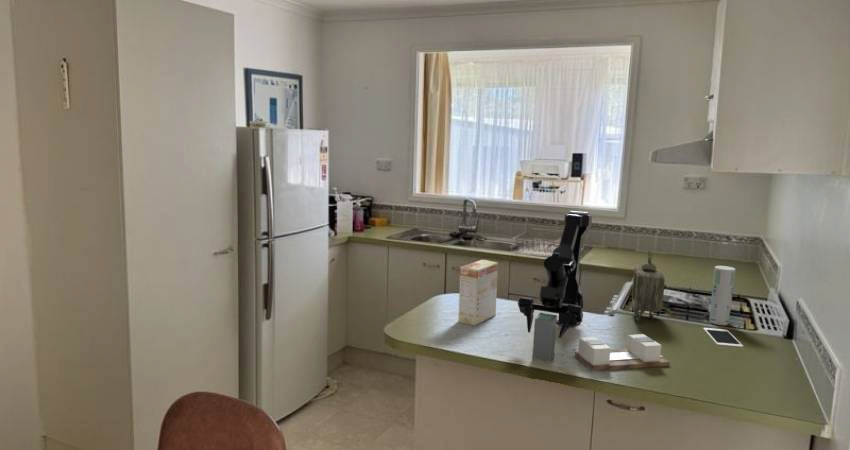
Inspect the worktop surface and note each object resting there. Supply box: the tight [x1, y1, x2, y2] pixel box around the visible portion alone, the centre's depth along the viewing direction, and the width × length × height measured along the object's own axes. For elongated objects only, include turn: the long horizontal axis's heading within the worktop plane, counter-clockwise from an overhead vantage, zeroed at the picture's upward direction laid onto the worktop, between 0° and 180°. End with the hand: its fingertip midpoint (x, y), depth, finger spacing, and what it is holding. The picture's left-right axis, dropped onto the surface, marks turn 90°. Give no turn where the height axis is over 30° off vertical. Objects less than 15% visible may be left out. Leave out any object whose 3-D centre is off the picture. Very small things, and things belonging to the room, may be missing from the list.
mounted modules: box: [577, 333, 662, 365], centre depth 170 cm, size 21×9×5 cm, turn 102°
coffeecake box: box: [457, 259, 499, 326], centre depth 203 cm, size 15×7×20 cm, turn 144°
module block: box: [532, 312, 558, 362], centre depth 172 cm, size 6×5×12 cm
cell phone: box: [703, 327, 744, 348], centre depth 193 cm, size 8×16×1 cm, turn 170°
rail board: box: [574, 348, 671, 372], centre depth 171 cm, size 24×11×2 cm, turn 102°
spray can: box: [708, 265, 736, 326], centre depth 207 cm, size 6×6×20 cm
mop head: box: [631, 249, 666, 322], centre depth 209 cm, size 14×9×25 cm, turn 164°
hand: (543, 334), depth 171 cm, fingers open, 9 cm apart
